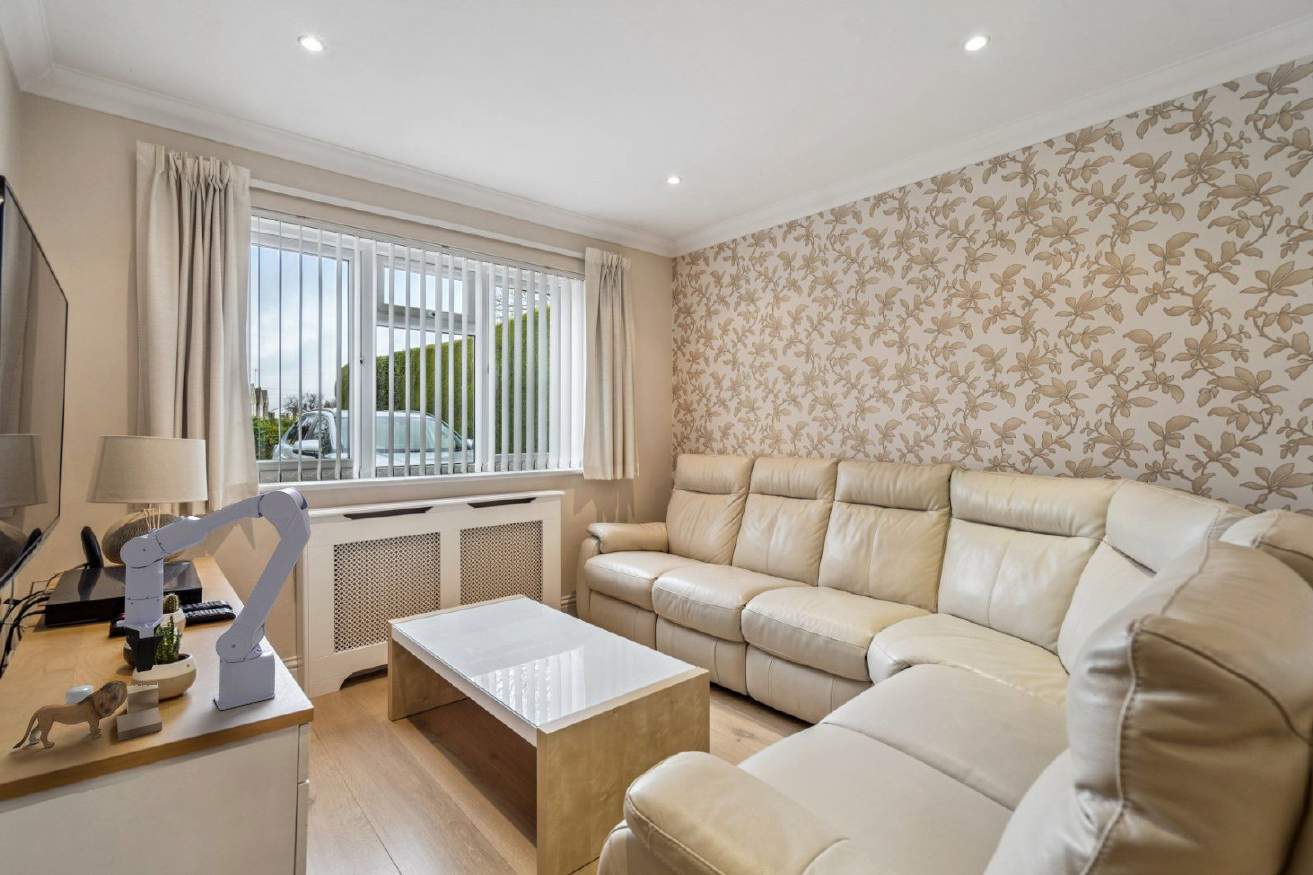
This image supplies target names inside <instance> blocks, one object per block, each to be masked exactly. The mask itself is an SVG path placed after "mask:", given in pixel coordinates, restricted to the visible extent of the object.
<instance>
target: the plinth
mask: <svg viewBox="0 0 1313 875" xmlns="http://www.w3.org/2000/svg"><path fill="white" fill-rule="evenodd" d="M115 717H116V719H115V721H116V722H115V723H116V732H117V733H116V734H117V741H123V740H128V739H131V738H135V737H140V736H142V735H146V734H150V733H155V732H158V731H162V730H163V719H162V717H161V714H160V709H159V706H158V707H156V708H152V709H148V710H143V711H139V712H134V713H130V714H127V713H126V714H122V715H117V716H115Z"/></svg>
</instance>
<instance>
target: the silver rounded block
mask: <svg viewBox="0 0 1313 875" xmlns="http://www.w3.org/2000/svg"><path fill="white" fill-rule="evenodd" d="M92 693H94V686H93V685H91V684H89V685H88V684H85V685H79V686H75V687H71V688H69V689H67V690H66V691H65V704H72V703H78V702H80V701H82V700H83V699H84V698H86V697H87V696H88V695H90V694H92Z"/></svg>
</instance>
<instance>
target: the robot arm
mask: <svg viewBox="0 0 1313 875" xmlns="http://www.w3.org/2000/svg"><path fill="white" fill-rule="evenodd" d="M309 505H310V504H309V502H308V500H307V499H306V497H305V495H304V494H303V492H302V491H301V490H300V489H298V488H296V487H292V486H286V487H282V488H280V489H277V490H273V491H267V492H265V493H261V494H257V495H253V496H250V497H246V498H244V499H242V500H240V501H238V502H234V503H233V504H231V505H228V506H226V507H224V508H222V509H219V510H218V511H215V512H212V513H210V514H207V515H206V516H204V517H198V516H197V517H196V516H192V515H188V516H186V517H185V516H184V515H181V516H178V517H176V518H174V519H173V521H174V522H171V523H169V524H167V525H164V526H162V527H160V528H157V527H153V528H151V529H148V531H147V532H148V533H147V534H144V535H141V536H134V537H132V538H131V539H130V540H127V541H126V542H125V543H124V544H123V545H122V547H121V549H120V552H119V553H120V554H119V555H120V560H121V561H122V562H123V563H124V564H125V587H124V588H125V590H124V591H125V593H124V619H123V620H122V619H121V620H118V621H116V627H119V628H120V627H121V628H122V627H123V631H125V633H126V634H127V636H125V641H126V643H127V644H128V646H129V648H130V649H131V652H132V656H133V659H134V664H135V669H136V672H137V673H143V672H148V671H149V672H150V671H152V670H153V667H154V665H155V664H154V663H155V659H156V655H157V652H158V650H159V646H160V644H161V642H162V641H163V639H164V637H165V634H166V633H164V632H158V633H156V632H157V630H158V628H159V627H160V625H161V624H162V622H163V621H164V619H165V615H164V614H163V612H164V608H163V607H164V606H163V605H164V559H165V558H166V557H167V556H168V557H169V556H172V555H175V554H176V553H180V552H181V551H183V550H186V549H189V548H191V547H193V546H195V545H196V546H197V544H201V543H202V542H204V541H205V540H206V538H207V535H208V534H209V532H212V531H214V530H217V529H218V528H221V527H224V526H226V525H229V524H231V523H234V522H236V521H239V520H241V519H244V518H255V519H261V518H262V517H264V518H265V520H266V521H268V522H269V523H270V524H271V525H272V526H273V527H274V528H275V530H276V532H277V534H278V535H279V538H280V540H279V542H278V543H277V546H276V548H275V549H274V552H273V553H272V555H271V557H270V559H269V560H268V562H267V563H266V565H265V568H264V569H263V572H262V573H261V575H260V577H259V578H258V581H257V582H256V584H255V586H254V587H253V589H252V591H251V593H250V595H249V597H248V598H247V600H246V602H245V604H244V606H243V607H242V609H241V611H240V613H239V614H238V615H237V616H236V618H235V619H234V621H233V622H232V624H231V626H230V627H229V628H228V630H226V631H225V632H223V633H222V634H221V635H220V636H219V637H218V639H217V640H216V643H215V651H216V654H217V656H218V657H219V672H218V674H219V675H218V678H219V679H218V694H215V695H214V696H213V699H214V701H215V703H216V705H217V707H218V710H220V711H224V710H228V709H232V708H237V707H240V706H244V705H247V704H253V703H257V702H261V701H264V700H268V699H272V698H273V699H274V698H275V697H276V693H275V692H276V691H275V690H276V689H275V688H276V686H275V685H276V683H275V682H276V679H275V678H276V677H275V676H276V662H275V661H276V660H275V654H274V651H273V650H271V649H269V650H263V649H262V647H261V645H260V642H261V641H262V640H263V638H264V636H265V634H266V623H267V621H268V619H269V617H270V612H271V611H272V609H273V606H274V604H275V603H276V602H277V599H278V597H279V596H280V593H281V592H282V590H283V587H284V586H285V584H286V583H287V581H288V578H289V577H290V575H291V573H292V571H293V570H294V567H295V565H296V563H297V562H298V560H299V559H300V557H301V555H302V553H303V551H304V549H305V547H306V546H307V543H308V541H309V540H310V538H311V534H312V533H311V523H310V515H309V508H310V506H309Z"/></svg>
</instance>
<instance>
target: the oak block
mask: <svg viewBox="0 0 1313 875" xmlns="http://www.w3.org/2000/svg"><path fill="white" fill-rule="evenodd" d="M134 685H135V686H134ZM126 687H127V693H128V695H127V698H126V714H130V713H134V712H139V711H143V710H148V709H152V708H156V707H158V708H159V694H160V693H159V692H160V691H159V690H160V689H159V684H158V683H157V685H149V686H147V685H143V686H142V685H141V686H138V685H137V684H132V685H129V686H128V685H126Z"/></svg>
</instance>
